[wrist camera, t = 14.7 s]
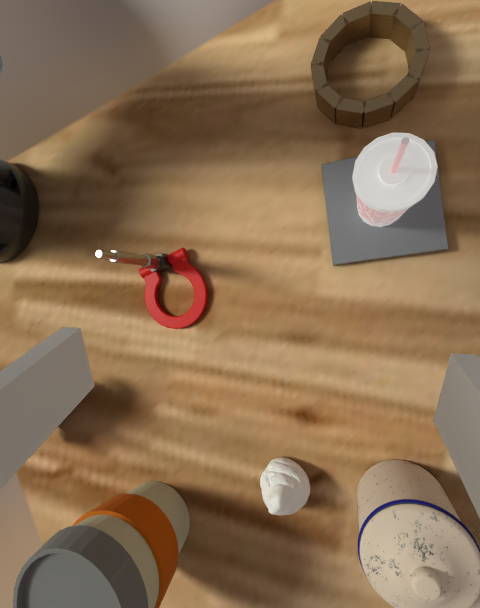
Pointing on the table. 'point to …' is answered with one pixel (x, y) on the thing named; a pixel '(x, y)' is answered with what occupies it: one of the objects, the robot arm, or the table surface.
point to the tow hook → (153, 280)
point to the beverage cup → (392, 177)
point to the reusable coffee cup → (110, 554)
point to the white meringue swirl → (284, 486)
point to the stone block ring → (359, 25)
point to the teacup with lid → (415, 540)
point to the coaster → (379, 240)
